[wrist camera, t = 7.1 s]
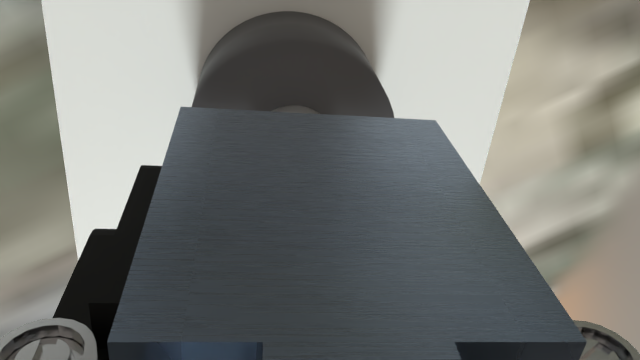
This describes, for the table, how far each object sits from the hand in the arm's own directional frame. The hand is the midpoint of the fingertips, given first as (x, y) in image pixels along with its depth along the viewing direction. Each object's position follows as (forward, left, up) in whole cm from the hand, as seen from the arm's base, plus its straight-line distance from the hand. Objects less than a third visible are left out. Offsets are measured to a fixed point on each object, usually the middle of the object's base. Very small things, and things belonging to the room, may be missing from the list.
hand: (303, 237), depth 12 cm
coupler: (0, 0, -1) cm, 1 cm away
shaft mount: (0, 0, -9) cm, 9 cm away
